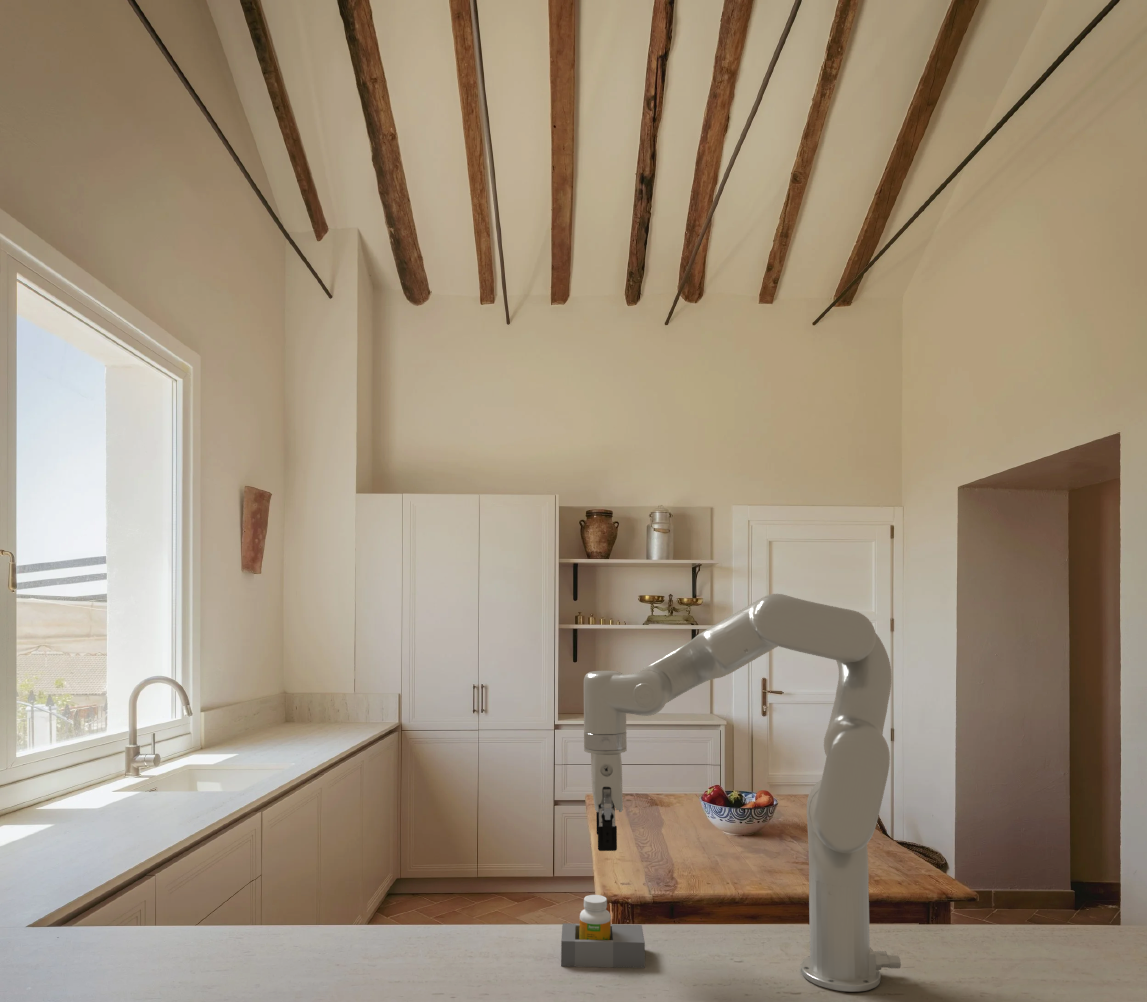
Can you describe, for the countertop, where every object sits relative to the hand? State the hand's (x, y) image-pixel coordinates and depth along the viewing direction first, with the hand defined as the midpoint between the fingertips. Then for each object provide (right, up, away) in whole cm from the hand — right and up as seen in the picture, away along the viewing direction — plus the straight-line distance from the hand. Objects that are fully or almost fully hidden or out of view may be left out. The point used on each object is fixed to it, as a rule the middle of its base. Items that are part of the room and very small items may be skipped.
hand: (606, 842), depth 155 cm
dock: (-1, -19, -2) cm, 19 cm away
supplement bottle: (-2, -19, -3) cm, 19 cm away
